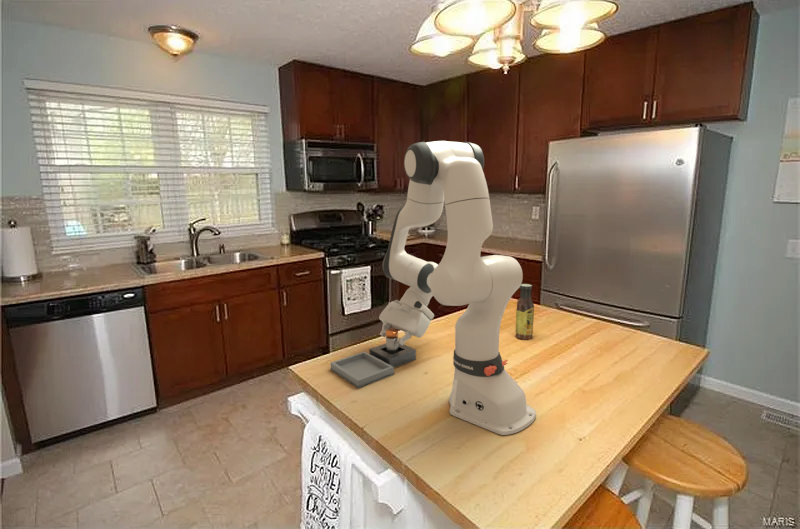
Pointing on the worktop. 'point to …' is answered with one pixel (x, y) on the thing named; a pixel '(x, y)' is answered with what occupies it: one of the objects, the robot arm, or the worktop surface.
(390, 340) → the pin
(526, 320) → the sauce bottle
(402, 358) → the receiver
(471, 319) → the robot arm
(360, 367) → the tray
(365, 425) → the worktop surface
